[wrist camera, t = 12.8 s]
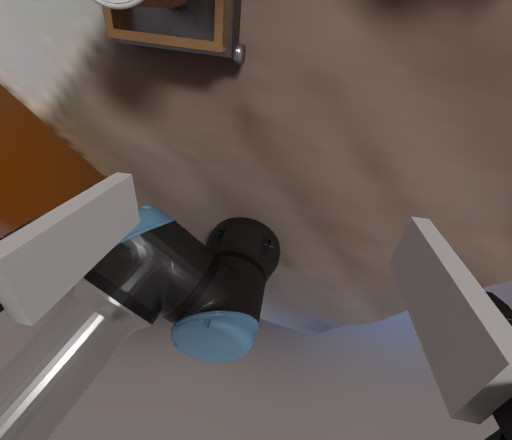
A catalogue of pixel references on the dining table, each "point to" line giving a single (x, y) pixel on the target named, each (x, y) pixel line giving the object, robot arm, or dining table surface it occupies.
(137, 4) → the coffee cup
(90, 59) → the dining table surface
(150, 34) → the square wooden box
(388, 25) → the dining table surface
